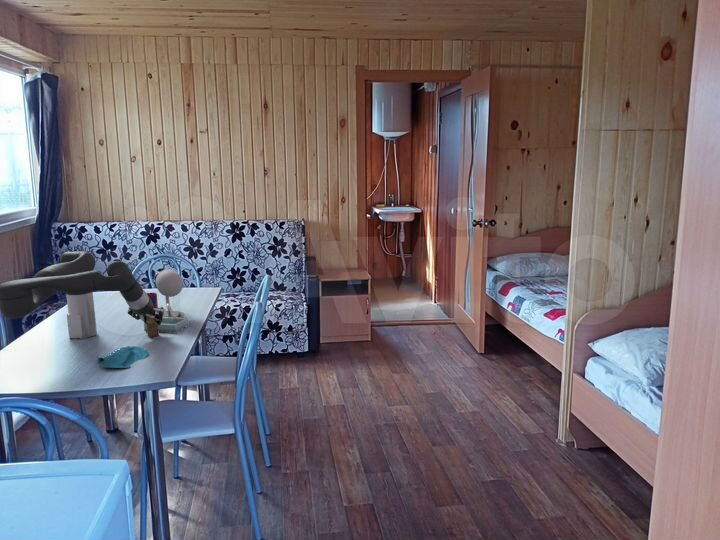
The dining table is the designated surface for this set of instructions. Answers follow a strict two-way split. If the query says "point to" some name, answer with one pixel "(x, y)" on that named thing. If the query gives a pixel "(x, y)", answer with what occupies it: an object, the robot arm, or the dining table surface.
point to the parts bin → (171, 325)
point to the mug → (153, 299)
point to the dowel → (151, 327)
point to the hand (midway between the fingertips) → (154, 322)
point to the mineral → (124, 357)
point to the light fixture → (170, 290)
